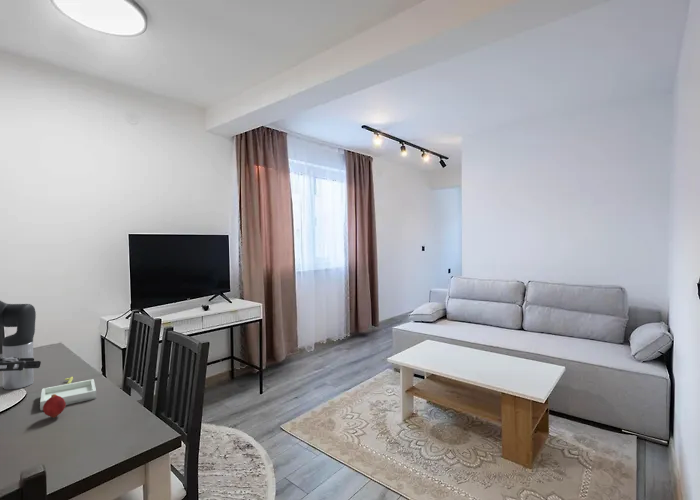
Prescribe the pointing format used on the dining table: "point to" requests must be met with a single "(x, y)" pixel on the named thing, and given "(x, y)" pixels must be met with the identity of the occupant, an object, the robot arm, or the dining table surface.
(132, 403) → the dining table surface
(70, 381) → the key
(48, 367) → the dining table surface
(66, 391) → the tray
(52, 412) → the onion
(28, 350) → the robot arm
